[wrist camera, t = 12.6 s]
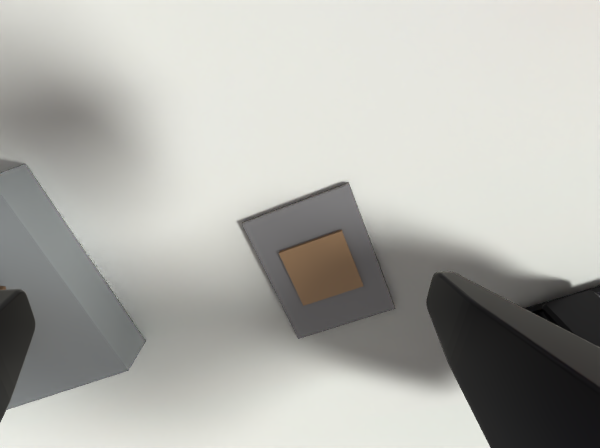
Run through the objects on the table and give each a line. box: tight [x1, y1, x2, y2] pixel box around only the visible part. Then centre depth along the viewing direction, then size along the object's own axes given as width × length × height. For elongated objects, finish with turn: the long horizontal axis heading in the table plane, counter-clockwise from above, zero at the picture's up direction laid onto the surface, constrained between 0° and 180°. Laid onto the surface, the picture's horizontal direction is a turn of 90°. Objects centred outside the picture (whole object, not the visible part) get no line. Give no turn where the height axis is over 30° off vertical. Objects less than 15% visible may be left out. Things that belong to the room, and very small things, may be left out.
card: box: [242, 183, 395, 339], centre depth 22 cm, size 8×6×1 cm
